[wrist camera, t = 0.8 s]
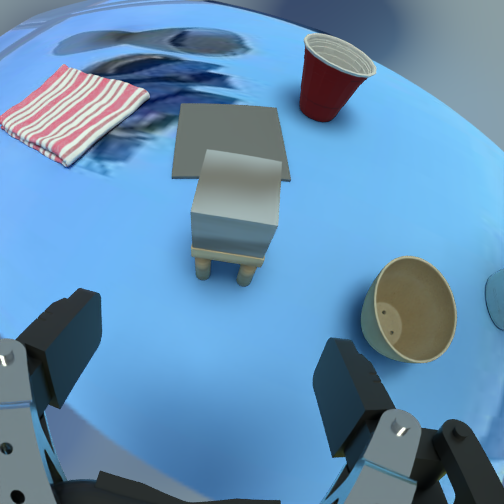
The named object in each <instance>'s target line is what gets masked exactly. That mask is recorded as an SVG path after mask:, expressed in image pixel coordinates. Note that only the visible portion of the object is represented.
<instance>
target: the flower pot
mask: <svg viewBox="0 0 504 504" xmlns="http://www.w3.org/2000/svg"><path fill="white" fill-rule="evenodd" d="M382 312H383V313H382ZM456 323H457V311H456V304H455V300H454V296H453V293H452V291H451V289H450V286H449V284H448V283H447V281H446V279H445V278H444V277H443V275H442V274H441V273H440V272H439V271H438V270H437V269H436V268H435V267H434V266H433V265H432V264H430V263H429V262H427V261H425V260H424V259H421V258H418V257H414V256H402V257H398V258H396V259H394V260H392V261H391V262H389V263H388V264H387V265H386V266H385V267H384V268H383V269H382V270H381V272H380V273H379V274H378V276H377V277H376V278H375V280H374V281H373V283H372V285H371V287H370V288H369V290H368V293H367V295H366V297H365V300H364V303H363V307H362V312H361V328H362V332H363V335H364V337H365V339H366V340H367V342H368V343H369V344H370V346H371V347H372V348H373V349H375V350H376V351H377V352H379V353H380V354H382V355H384V356H386V357H388V358H390V359H393V360H396V361H400V362H406V363H427V362H431V361H433V360H435V359H437V358H439V357H440V356H441V355H442V354H443V353H444V352H445V351H446V350H447V349H448V347H449V346H450V344H451V342H452V340H453V337H454V334H455V330H456ZM391 331H392V332H393V333H392V332H391Z"/></svg>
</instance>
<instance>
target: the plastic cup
mask: <svg viewBox="0 0 504 504" xmlns="http://www.w3.org/2000/svg"><path fill="white" fill-rule="evenodd" d="M304 43H305V55H304V67H303V74H302V82H301V94H300V109H301V111H302V112H303V113H304V114H305V115H306V116H308V117H309V118H311V119H313V120H316V121H320V122H328V121H330V120H332V119H333V118H334V117H335V116H336V115H337V113H338V112H339V111H340V109H341V108H342V107H343V106H344V105H345V104H346V102H347V101H348V100H349V98H350V97H351V96H352V95H353V93H354V92H355V91H356V89H357V88H358V87H359V86H360V84H362V83H363V82H364V81H365V80H366V79H367V78H368V77H371V76H373V75H375V74H376V66H375V65H374V63H373V61H372V60H371V59H370V58H369V57H368V56H367V55H366V54H365V53H364V52H362V51H361V50H359V49H358V48H356V47H354V46H353V45H352V44H350V43H347V42H345V41H343V40H341V39H339V38H336V37H333V36H330V35H326V34H318V33H313V34H308V35H307V36H306V37H305V38H304Z"/></svg>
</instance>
